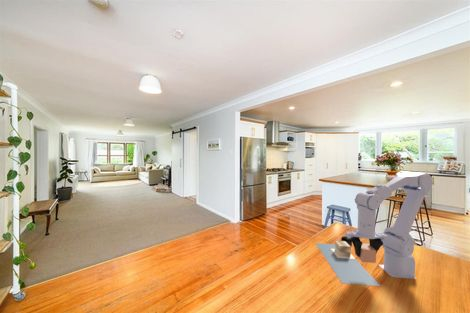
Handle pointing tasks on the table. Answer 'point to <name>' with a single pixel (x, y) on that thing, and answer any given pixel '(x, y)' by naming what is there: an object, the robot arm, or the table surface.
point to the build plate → (347, 240)
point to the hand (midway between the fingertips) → (365, 255)
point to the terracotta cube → (367, 254)
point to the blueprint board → (346, 267)
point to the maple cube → (342, 248)
